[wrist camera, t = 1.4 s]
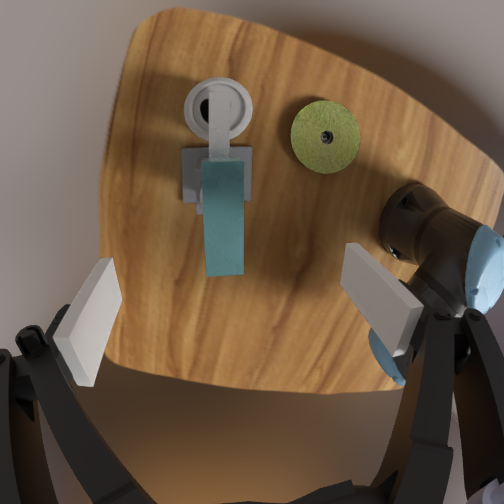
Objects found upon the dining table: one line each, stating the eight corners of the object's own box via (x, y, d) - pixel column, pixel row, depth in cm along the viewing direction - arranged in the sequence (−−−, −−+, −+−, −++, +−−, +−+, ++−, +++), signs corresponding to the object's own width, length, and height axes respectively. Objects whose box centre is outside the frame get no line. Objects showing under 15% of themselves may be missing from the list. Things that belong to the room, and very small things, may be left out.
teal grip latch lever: (238, 93, 26) (252, 78, 17) (238, 231, 32) (249, 274, 24) (199, 94, 26) (193, 79, 17) (202, 232, 32) (200, 276, 23)
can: (183, 98, 36) (172, 88, 25) (233, 82, 36) (242, 65, 25) (199, 145, 39) (195, 152, 29) (249, 129, 39) (264, 130, 28)
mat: (271, 134, 40) (274, 134, 38) (323, 87, 38) (328, 85, 36) (320, 186, 44) (324, 188, 43) (367, 140, 42) (372, 141, 40)
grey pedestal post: (250, 146, 40) (266, 154, 30) (250, 198, 44) (264, 225, 33) (181, 148, 39) (170, 156, 28) (183, 201, 42) (175, 228, 32)
